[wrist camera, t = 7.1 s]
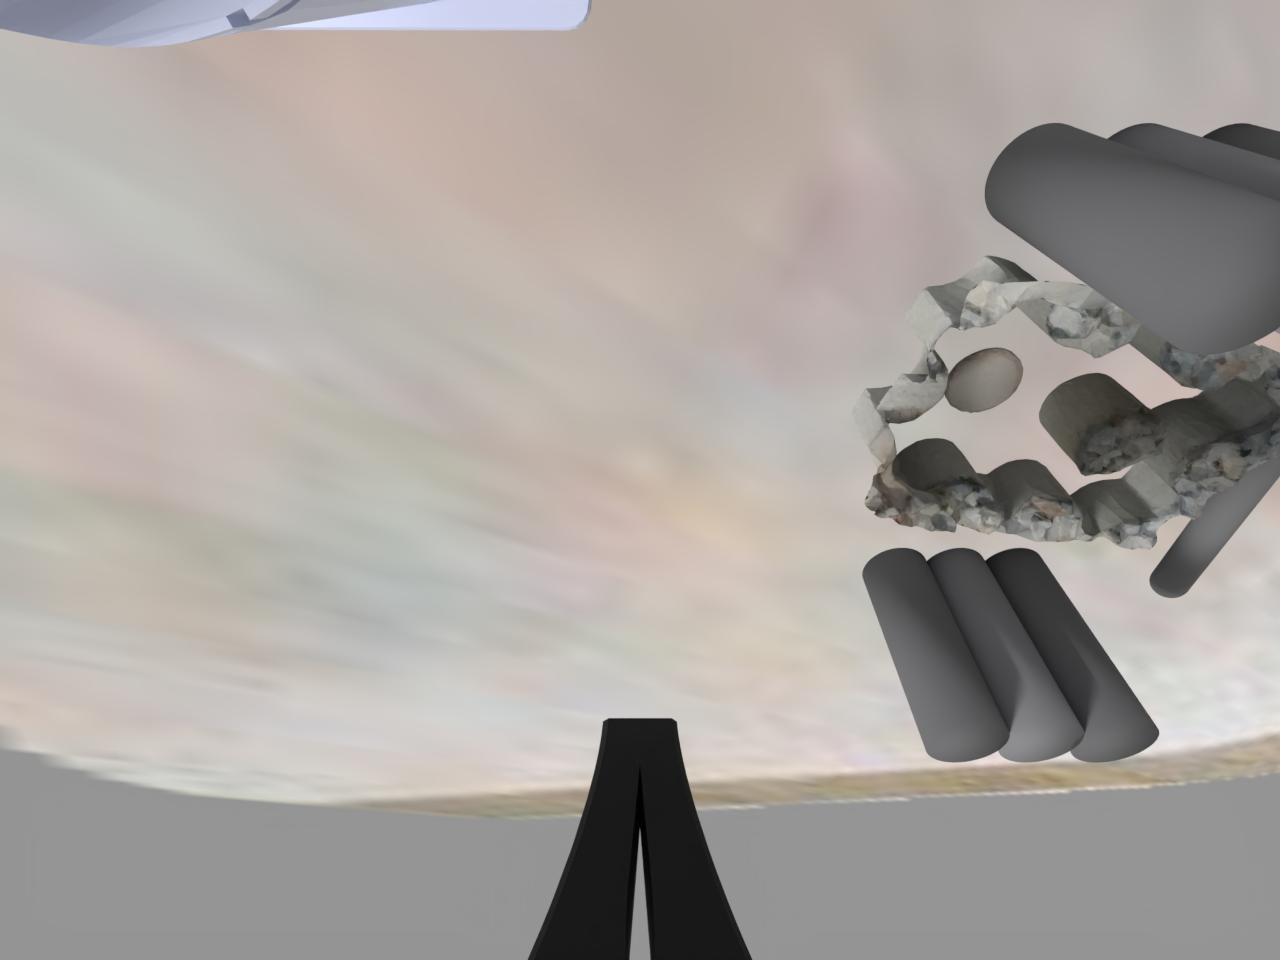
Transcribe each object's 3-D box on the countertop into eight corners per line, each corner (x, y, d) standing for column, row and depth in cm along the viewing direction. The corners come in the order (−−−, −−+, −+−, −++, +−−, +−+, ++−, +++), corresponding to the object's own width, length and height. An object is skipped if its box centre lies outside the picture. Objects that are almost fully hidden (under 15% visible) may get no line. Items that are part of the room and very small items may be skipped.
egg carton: (817, 436, 21) (849, 519, 18) (957, 209, 17) (1032, 266, 13) (1081, 513, 23) (1152, 601, 20) (1268, 330, 19) (1398, 405, 15)
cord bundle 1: (870, 547, 24) (938, 720, 18) (1052, 547, 24) (1175, 720, 18) (856, 590, 25) (915, 762, 20) (1027, 591, 25) (1134, 762, 20)
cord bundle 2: (1004, 122, 15) (1213, 210, 10) (1292, 122, 15) (1666, 211, 10) (971, 227, 17) (1135, 354, 11) (1234, 227, 17) (1527, 355, 11)
